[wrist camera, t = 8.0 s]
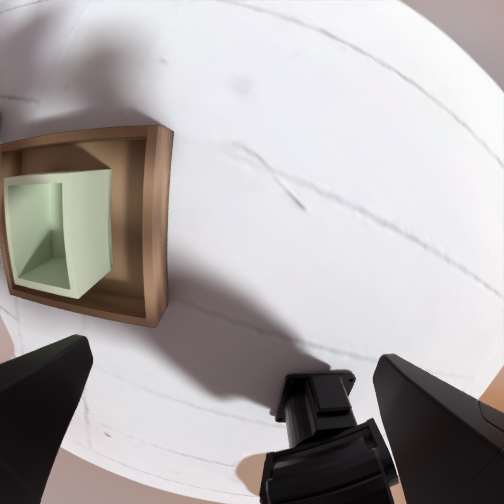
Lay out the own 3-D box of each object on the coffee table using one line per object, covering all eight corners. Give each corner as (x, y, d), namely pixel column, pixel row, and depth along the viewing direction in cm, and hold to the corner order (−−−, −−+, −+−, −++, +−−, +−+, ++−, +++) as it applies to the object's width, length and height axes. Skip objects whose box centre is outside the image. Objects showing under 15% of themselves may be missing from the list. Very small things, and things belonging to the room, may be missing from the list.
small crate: (113, 268, 18) (78, 299, 13) (53, 259, 18) (14, 283, 13) (111, 169, 16) (69, 173, 11) (48, 171, 16) (3, 178, 11)
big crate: (167, 305, 20) (155, 328, 17) (30, 280, 19) (10, 294, 16) (173, 131, 16) (158, 125, 13) (23, 144, 15) (-3, 145, 12)
